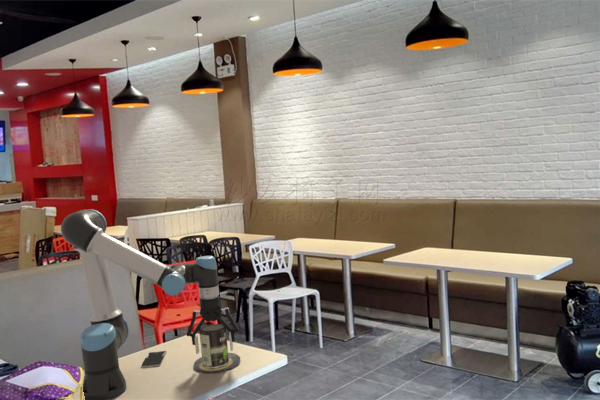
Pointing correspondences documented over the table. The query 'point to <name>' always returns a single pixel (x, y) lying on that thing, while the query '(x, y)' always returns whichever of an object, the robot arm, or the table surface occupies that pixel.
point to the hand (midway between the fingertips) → (214, 351)
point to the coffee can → (214, 346)
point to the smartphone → (154, 359)
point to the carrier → (233, 362)
